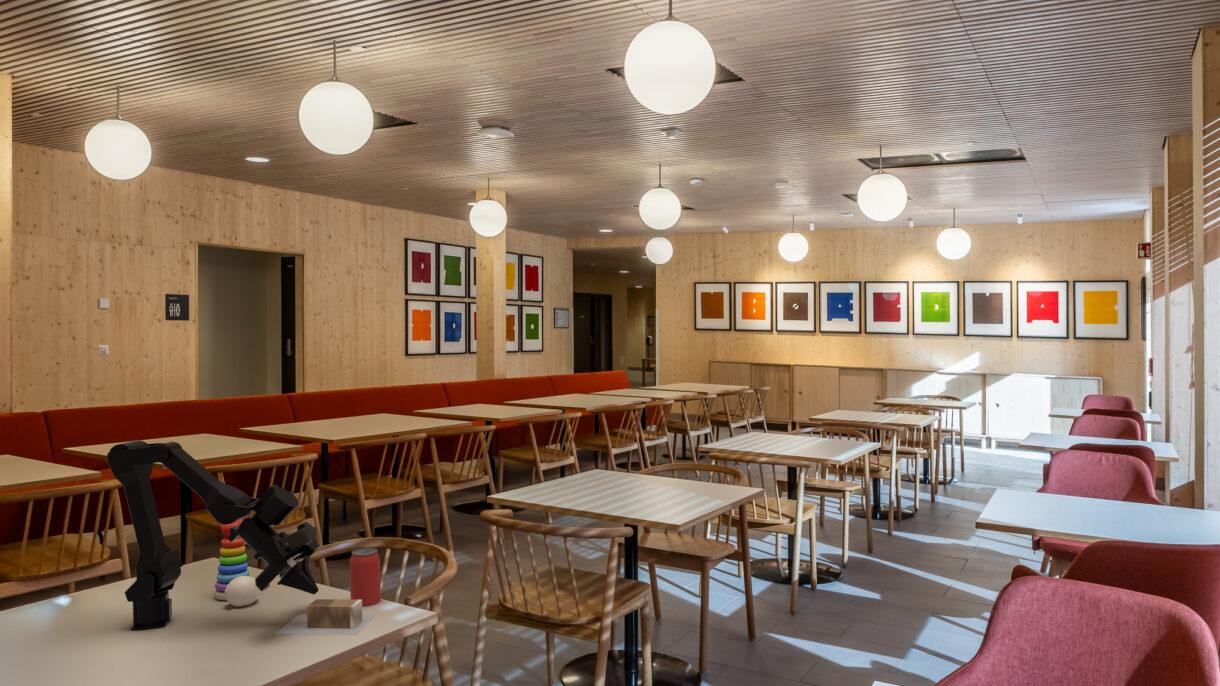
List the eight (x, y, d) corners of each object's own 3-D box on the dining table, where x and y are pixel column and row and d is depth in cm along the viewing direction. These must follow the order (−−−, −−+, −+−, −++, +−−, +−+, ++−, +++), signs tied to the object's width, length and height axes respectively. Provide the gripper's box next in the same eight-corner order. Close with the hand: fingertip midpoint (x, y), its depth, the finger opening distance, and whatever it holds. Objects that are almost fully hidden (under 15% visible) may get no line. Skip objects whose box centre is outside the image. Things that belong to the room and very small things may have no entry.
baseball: (233, 600, 188) (232, 572, 187) (264, 600, 187) (263, 572, 187) (218, 611, 181) (217, 581, 181) (250, 611, 180) (249, 581, 180)
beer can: (386, 600, 186) (385, 548, 186) (367, 610, 180) (365, 556, 180) (364, 597, 189) (363, 546, 188) (344, 606, 183) (343, 553, 182)
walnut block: (306, 606, 168) (353, 606, 168) (316, 599, 173) (361, 599, 172) (307, 627, 168) (354, 628, 168) (316, 620, 173) (362, 620, 172)
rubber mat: (275, 635, 166) (275, 633, 166) (299, 616, 177) (299, 614, 176) (356, 636, 164) (356, 634, 164) (375, 617, 175) (375, 615, 175)
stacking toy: (242, 601, 187) (239, 521, 186) (207, 602, 187) (205, 521, 186) (257, 590, 195) (255, 513, 194) (224, 590, 195) (222, 513, 194)
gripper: (268, 524, 161) (323, 579, 161) (309, 503, 180) (359, 553, 179) (231, 563, 162) (286, 618, 161) (276, 538, 181) (325, 588, 180)
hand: (316, 592), depth 170 cm, fingers closed
